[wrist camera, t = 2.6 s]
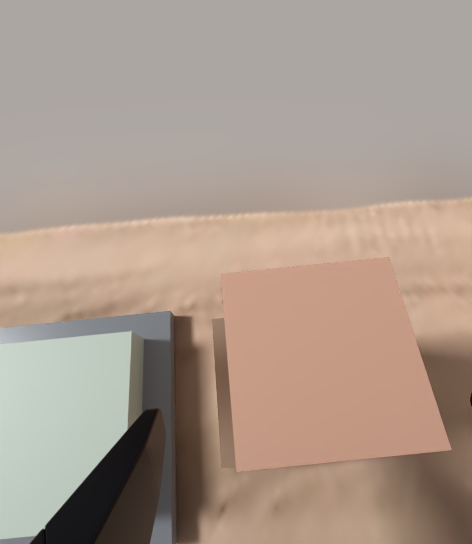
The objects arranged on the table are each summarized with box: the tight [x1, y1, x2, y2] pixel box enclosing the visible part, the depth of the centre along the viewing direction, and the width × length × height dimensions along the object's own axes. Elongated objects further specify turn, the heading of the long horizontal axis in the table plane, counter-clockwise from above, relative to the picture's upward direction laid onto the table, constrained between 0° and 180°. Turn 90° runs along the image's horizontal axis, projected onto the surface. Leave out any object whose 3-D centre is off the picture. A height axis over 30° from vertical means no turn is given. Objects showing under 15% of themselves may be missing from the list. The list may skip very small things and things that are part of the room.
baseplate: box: [0, 311, 177, 544], centre depth 16 cm, size 11×11×1 cm
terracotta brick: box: [221, 257, 452, 472], centre depth 11 cm, size 4×4×8 cm
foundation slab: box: [0, 331, 144, 539], centre depth 15 cm, size 8×8×2 cm
